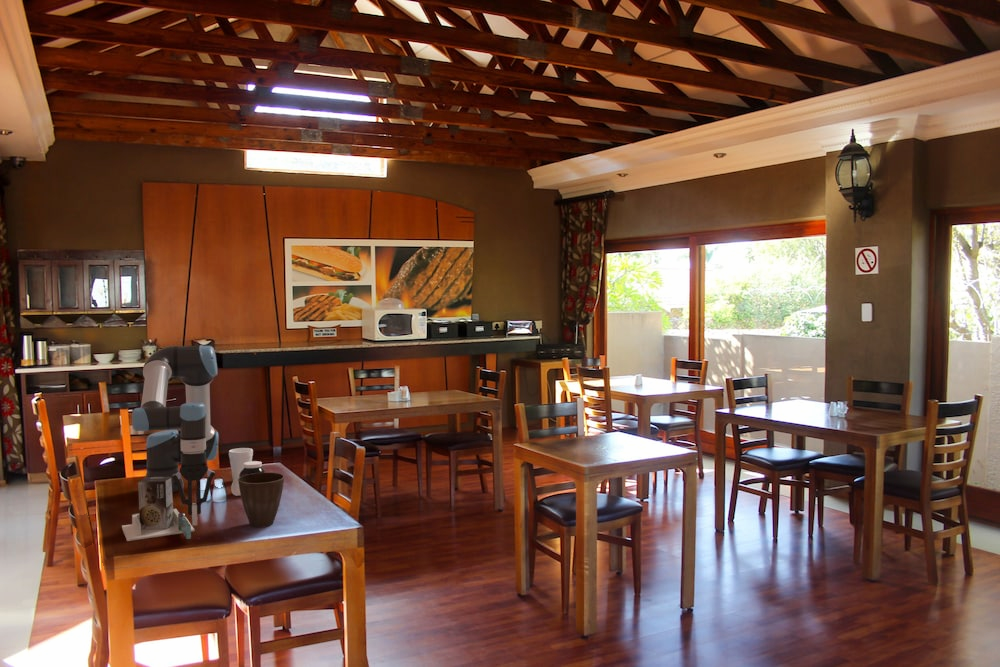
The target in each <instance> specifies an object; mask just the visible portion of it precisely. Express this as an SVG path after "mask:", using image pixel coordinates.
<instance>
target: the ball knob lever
mask: <svg viewBox="0 0 1000 667" xmlns="http://www.w3.org/2000/svg"><path fill="white" fill-rule="evenodd" d="M179 513H180V512H179ZM185 517H186V513H185V512H181V513H180V514H178V530H181V531H182V532H183V533H182V534H183V535H184V537H185V538H186V540H191V538H192V532H191V525H192V524H191V523H190V524H191V525H190V524H189V523H188V521H189V520H188V521H187V520H186V518H187V517H186V518H185Z"/></svg>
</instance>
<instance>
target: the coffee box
mask: <svg viewBox="0 0 1000 667" xmlns="http://www.w3.org/2000/svg"><path fill="white" fill-rule="evenodd" d="M137 486H138V509H139V510H138V512H139V513H138V514H139V518H140V524H141V530H142V529H168V528H169V527H170V526H171V525H173V524H174V520H173V509H174V492H173V485H172V477H143V478H142V479H141V480H140V481H138V482H137Z"/></svg>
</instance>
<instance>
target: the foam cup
mask: <svg viewBox="0 0 1000 667" xmlns="http://www.w3.org/2000/svg"><path fill="white" fill-rule="evenodd" d="M253 456H254V450H253V448H249V447H239V448H232V449H230V450H228V457H229V463H230V468H231V470H230V471H231V476H232V482H233V481H234V480H235V479H237V478H239V475H240V472H241V471H242V470H243V468H244V463H245V462H250V461H253Z"/></svg>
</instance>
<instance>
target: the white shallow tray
mask: <svg viewBox="0 0 1000 667" xmlns="http://www.w3.org/2000/svg"><path fill="white" fill-rule="evenodd" d="M178 514H180V512H179V511H178V509H177V508H173V520H174V524H173V525H171V526H170V527H169V528H168V529H142V530H141V524H140V518H139V513H133V514H131V524H126V525H125V524H124V525H121V530H122V532H123V535H124V536H125V539H126V542H131V541H137V540H138V541H139V540H145V539H146V540H147V539H151V538H159V537H165V536H171V535H172V536H173V535H178V534H180V535H181V534H183V532H182V531H181V530H178ZM185 518H186V520H187V521H188V523H189V524H190V525H191V533H192V532H195V528H194V526H192V523H191V522H190V521H189V519H188V518H187V517H186V516H185Z"/></svg>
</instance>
